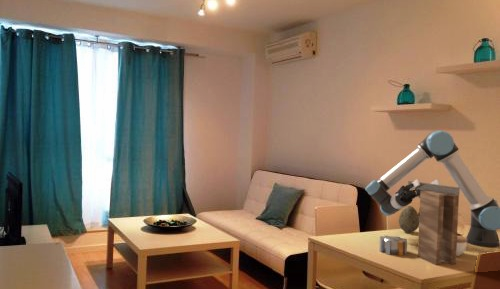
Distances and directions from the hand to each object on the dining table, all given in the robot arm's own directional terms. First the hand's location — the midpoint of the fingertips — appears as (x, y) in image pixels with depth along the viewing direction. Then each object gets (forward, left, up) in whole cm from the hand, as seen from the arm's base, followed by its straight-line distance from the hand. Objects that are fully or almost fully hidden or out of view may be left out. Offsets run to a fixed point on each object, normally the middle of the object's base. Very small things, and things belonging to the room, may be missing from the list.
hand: (428, 181), depth 191 cm
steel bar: (0, +4, -4) cm, 5 cm away
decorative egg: (-13, -45, -34) cm, 58 cm away
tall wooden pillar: (-1, +7, -34) cm, 34 cm away
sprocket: (+13, -6, -34) cm, 36 cm away
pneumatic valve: (-32, -60, -34) cm, 76 cm away
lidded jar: (-15, -3, -34) cm, 37 cm away
